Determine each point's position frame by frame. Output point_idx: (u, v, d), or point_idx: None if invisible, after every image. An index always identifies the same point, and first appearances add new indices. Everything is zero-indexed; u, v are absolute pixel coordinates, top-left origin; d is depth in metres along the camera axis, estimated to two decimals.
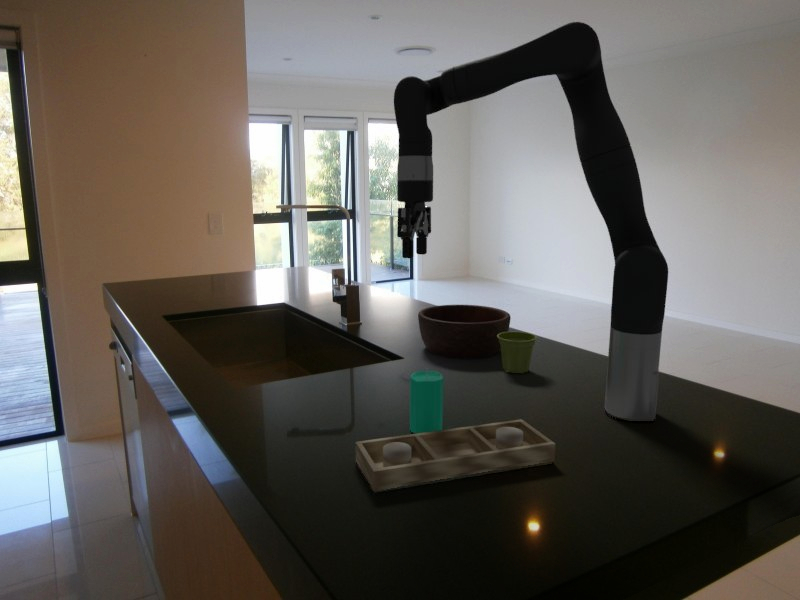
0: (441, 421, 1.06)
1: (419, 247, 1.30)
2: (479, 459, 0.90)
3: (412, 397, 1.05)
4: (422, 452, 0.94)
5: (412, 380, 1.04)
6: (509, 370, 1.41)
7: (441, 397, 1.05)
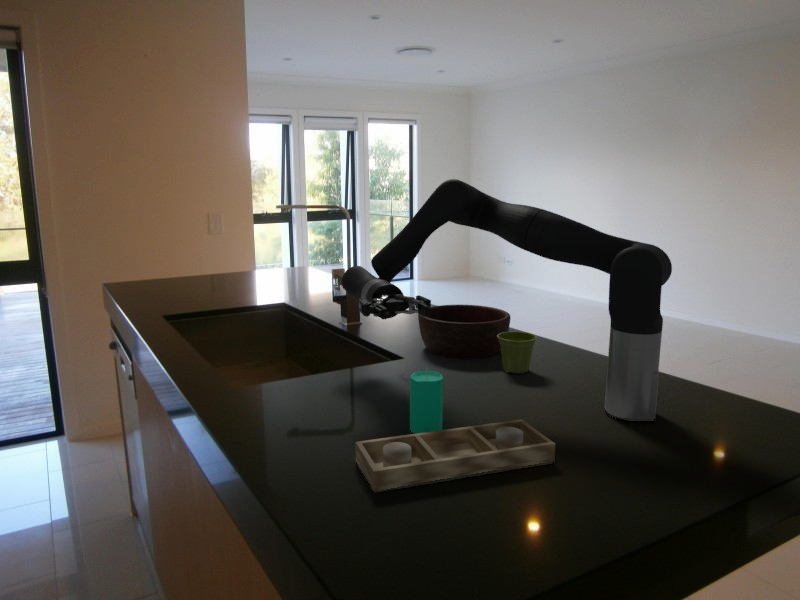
0: (441, 421, 1.06)
1: (422, 312, 1.17)
2: (479, 459, 0.90)
3: (412, 397, 1.05)
4: (422, 452, 0.94)
5: (412, 380, 1.04)
6: (509, 370, 1.41)
7: (441, 397, 1.05)
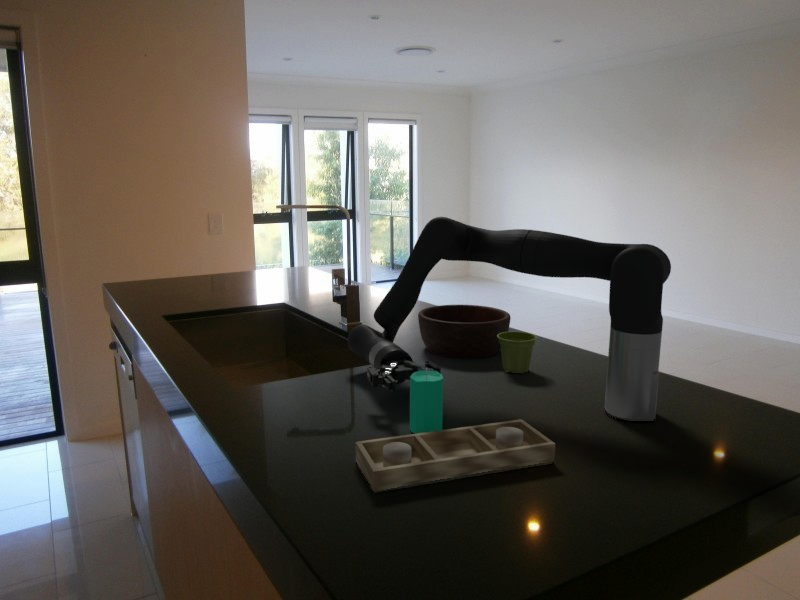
0: (441, 421, 1.06)
1: None
2: (479, 459, 0.90)
3: (412, 397, 1.05)
4: (422, 452, 0.94)
5: (412, 380, 1.04)
6: (509, 370, 1.41)
7: (441, 397, 1.05)
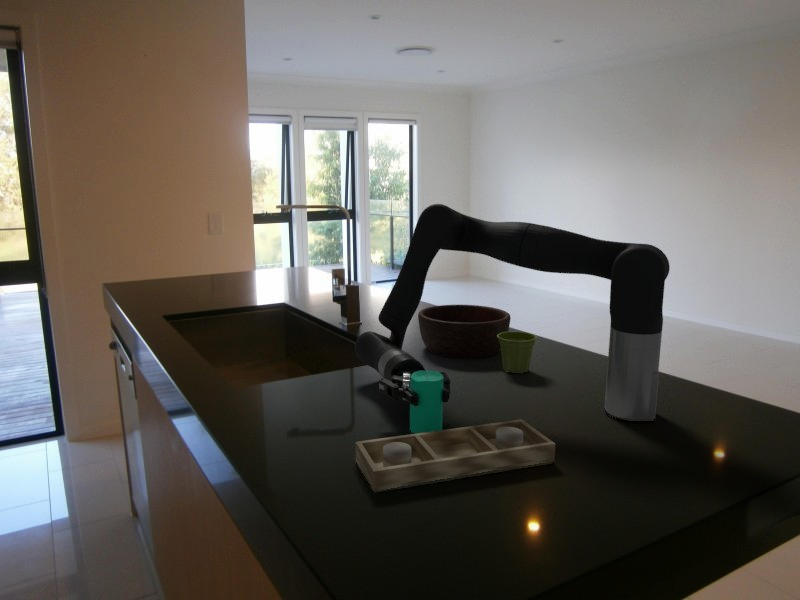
0: (441, 421, 1.06)
1: None
2: (479, 459, 0.90)
3: None
4: (422, 452, 0.94)
5: (412, 380, 1.04)
6: (509, 370, 1.41)
7: (441, 397, 1.05)
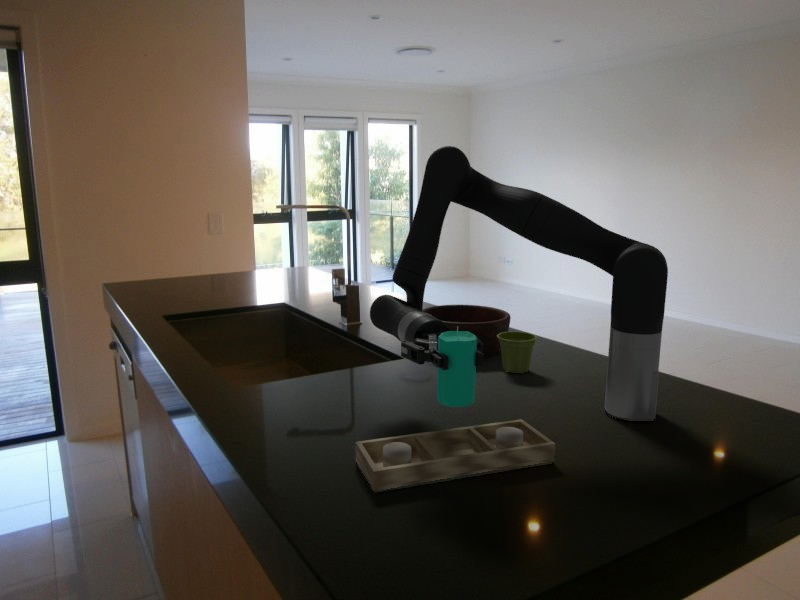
0: (474, 388, 0.92)
1: None
2: (479, 459, 0.90)
3: None
4: (422, 452, 0.94)
5: (441, 340, 0.90)
6: (509, 370, 1.41)
7: (474, 360, 0.91)
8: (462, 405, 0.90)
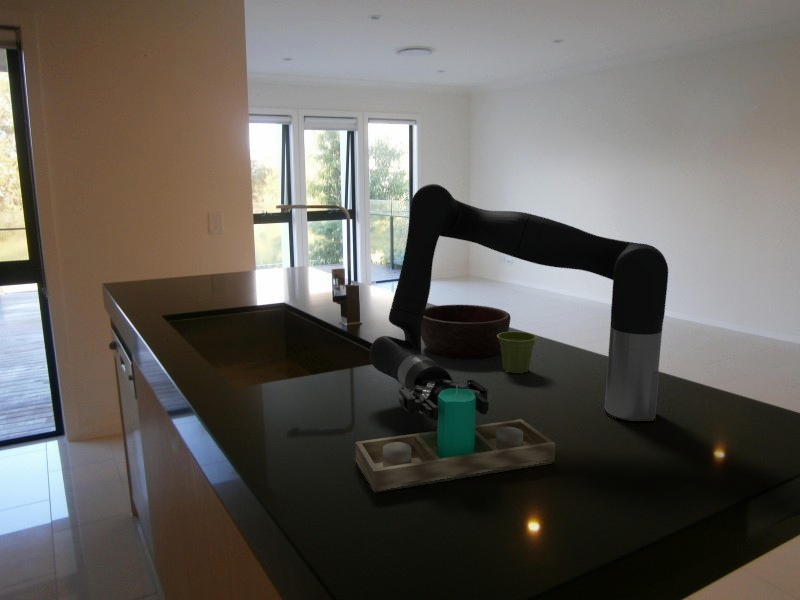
0: (473, 446, 0.94)
1: (479, 407, 0.94)
2: (479, 459, 0.90)
3: (440, 419, 0.92)
4: (422, 452, 0.94)
5: (440, 400, 0.92)
6: (509, 370, 1.41)
7: (473, 419, 0.93)
8: None
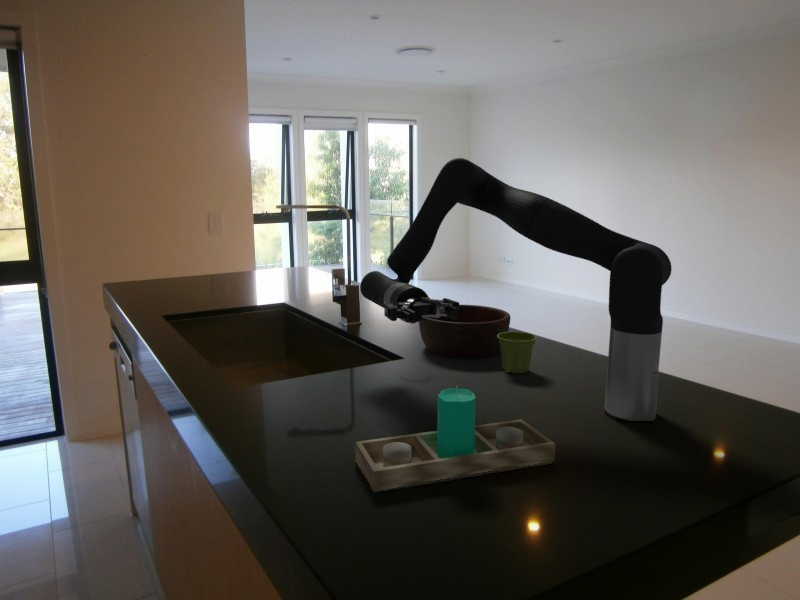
0: (473, 446, 0.94)
1: (451, 314, 1.12)
2: (479, 459, 0.90)
3: (440, 419, 0.92)
4: (422, 452, 0.94)
5: (440, 400, 0.92)
6: (509, 370, 1.41)
7: (473, 419, 0.93)
8: None
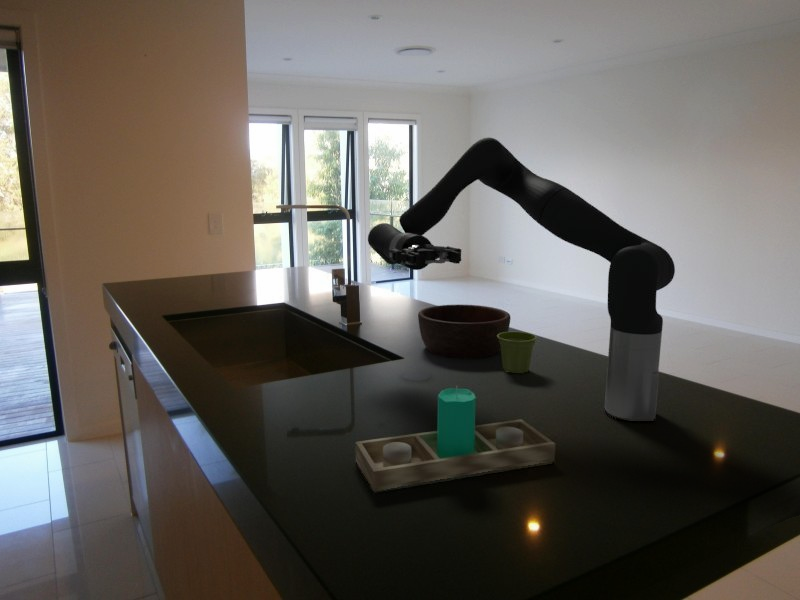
0: (473, 446, 0.94)
1: (453, 259, 1.17)
2: (479, 459, 0.90)
3: (440, 419, 0.92)
4: (422, 452, 0.94)
5: (440, 400, 0.92)
6: (509, 370, 1.41)
7: (473, 419, 0.93)
8: None
